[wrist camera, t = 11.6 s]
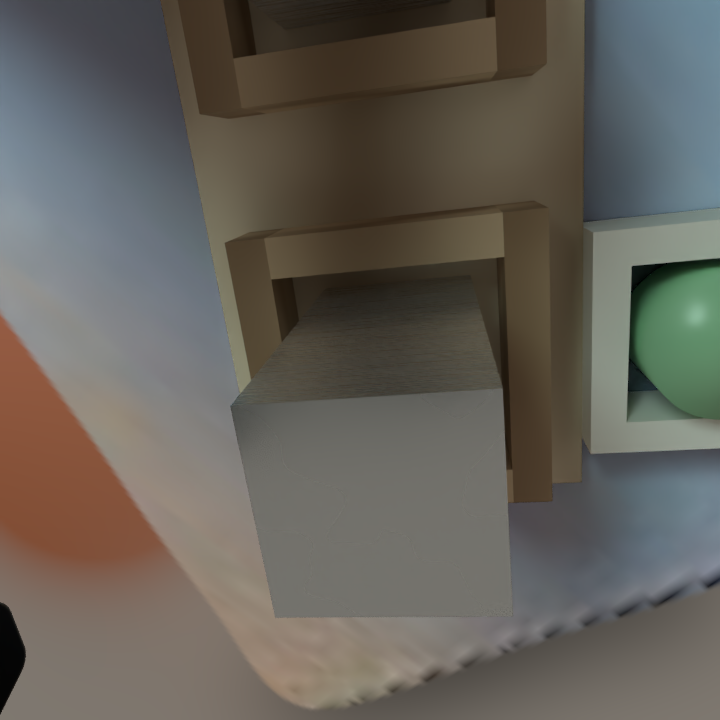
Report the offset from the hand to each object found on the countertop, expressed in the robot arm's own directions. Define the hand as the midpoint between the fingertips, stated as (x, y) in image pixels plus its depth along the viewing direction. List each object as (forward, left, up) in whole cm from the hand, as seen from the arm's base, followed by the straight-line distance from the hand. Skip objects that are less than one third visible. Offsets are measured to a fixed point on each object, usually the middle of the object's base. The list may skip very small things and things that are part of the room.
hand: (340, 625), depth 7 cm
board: (0, -5, -11) cm, 12 cm away
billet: (0, 0, -10) cm, 10 cm away
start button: (-8, 0, -11) cm, 14 cm away
